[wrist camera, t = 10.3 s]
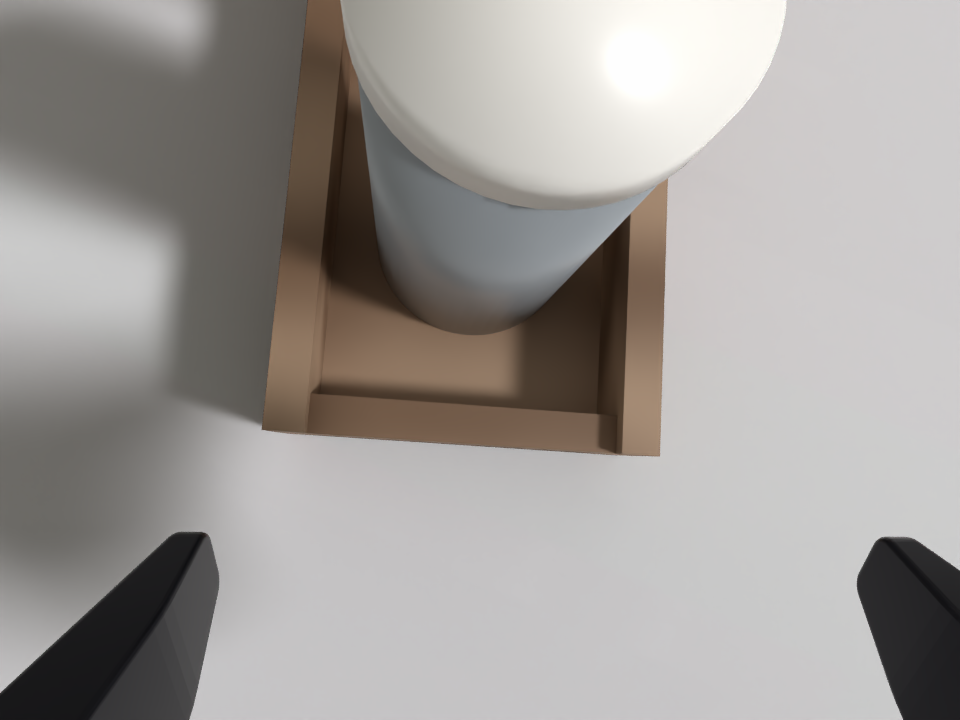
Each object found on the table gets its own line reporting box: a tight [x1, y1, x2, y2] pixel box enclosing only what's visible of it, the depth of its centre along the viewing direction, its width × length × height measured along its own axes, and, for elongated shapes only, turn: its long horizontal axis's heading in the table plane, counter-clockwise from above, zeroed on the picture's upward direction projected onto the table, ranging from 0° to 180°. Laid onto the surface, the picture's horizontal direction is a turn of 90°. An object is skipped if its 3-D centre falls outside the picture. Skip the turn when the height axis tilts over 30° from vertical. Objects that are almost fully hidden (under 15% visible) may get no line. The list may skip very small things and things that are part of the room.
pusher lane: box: [262, 0, 668, 456], centre depth 20 cm, size 22×10×5 cm, turn 176°
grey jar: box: [340, 0, 787, 335], centre depth 15 cm, size 6×6×12 cm
